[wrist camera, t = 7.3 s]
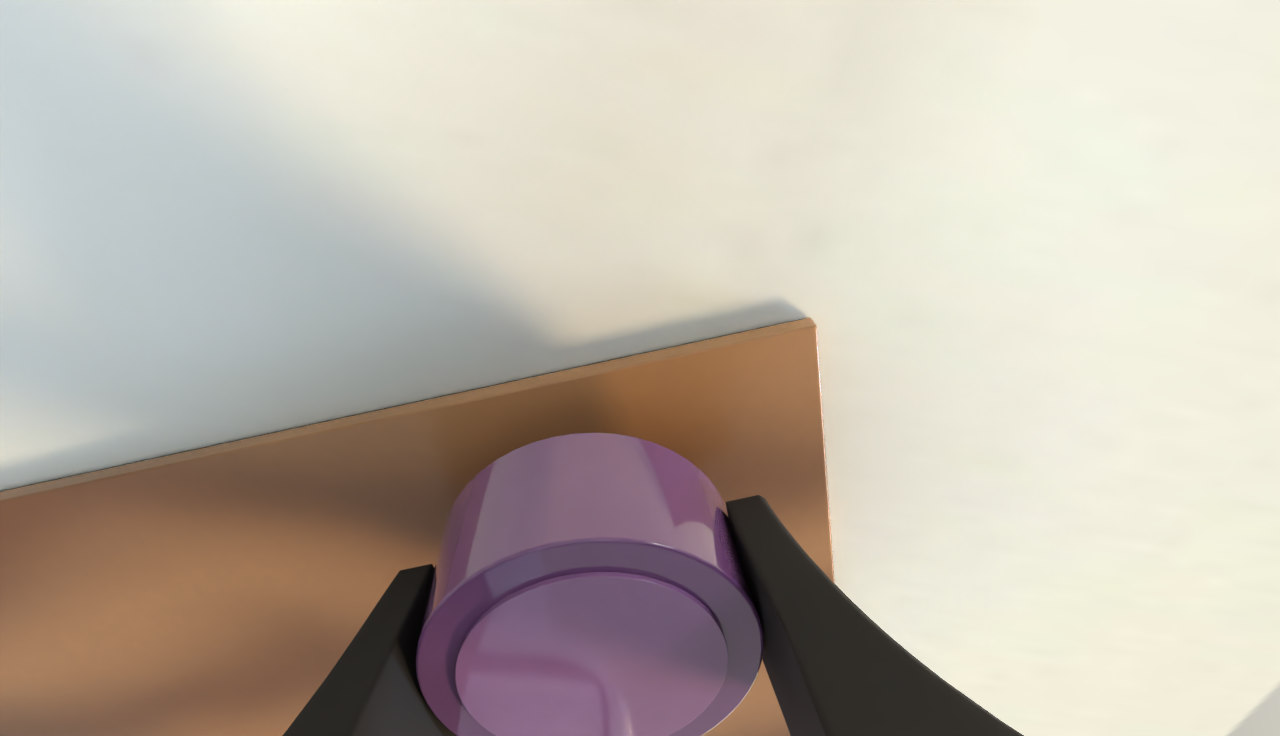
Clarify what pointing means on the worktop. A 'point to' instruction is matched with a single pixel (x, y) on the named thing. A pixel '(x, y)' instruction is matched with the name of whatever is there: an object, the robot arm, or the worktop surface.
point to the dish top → (588, 597)
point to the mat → (349, 535)
